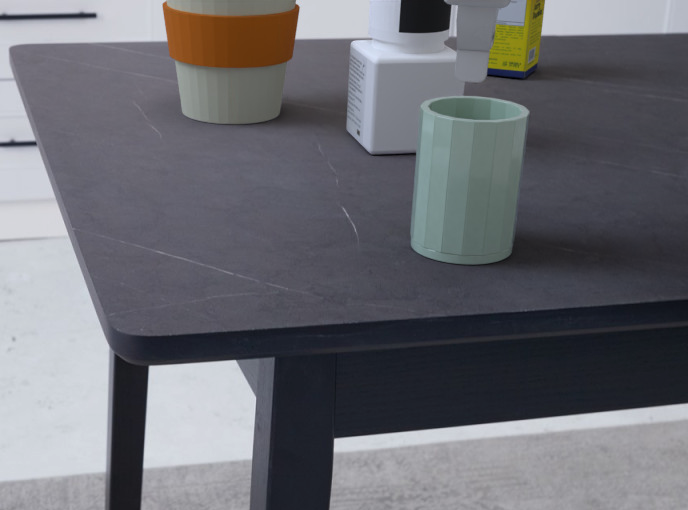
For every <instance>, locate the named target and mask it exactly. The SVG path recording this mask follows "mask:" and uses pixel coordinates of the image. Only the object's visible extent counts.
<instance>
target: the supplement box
mask: <svg viewBox="0 0 688 510" xmlns="http://www.w3.org/2000/svg"><path fill="white" fill-rule="evenodd" d="M545 4H546V0H511V1H510V3H509V5H508V6H506V7H504V8H499V11H498V16H497V21H496V29H495V37H494V43H493V46H492V48H491V49H490V53H489V61H488V69H487V76H496V77H497V76H498V77H506V78H514V79H515V78H516V79H521V80H524V79H526V78H528V76H529V75H531V74H532V73H534V72H535V71H536V70H537V69H538V67H539V66H538V64H539V57H540V50H541V48H540V47H541V39H542V32H543V31H542V30H543V23H544V22H543V21H544V14H545Z"/></svg>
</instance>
